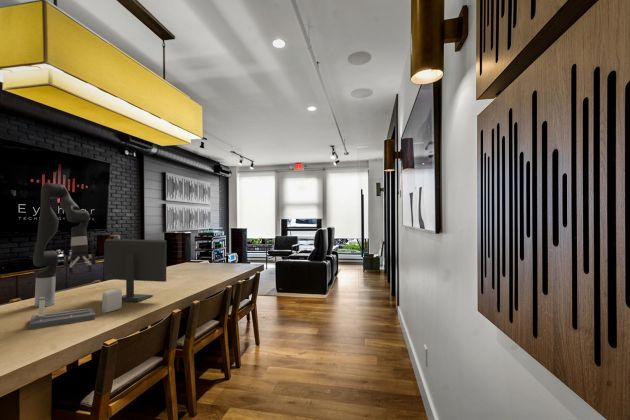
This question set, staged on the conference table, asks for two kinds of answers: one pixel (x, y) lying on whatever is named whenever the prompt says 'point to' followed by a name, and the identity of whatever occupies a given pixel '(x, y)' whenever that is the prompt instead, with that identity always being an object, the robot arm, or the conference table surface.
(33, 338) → the conference table surface
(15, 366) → the conference table surface
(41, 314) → the fader
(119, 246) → the computer monitor
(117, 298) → the photo printer
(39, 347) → the conference table surface
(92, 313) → the grey slider track board
